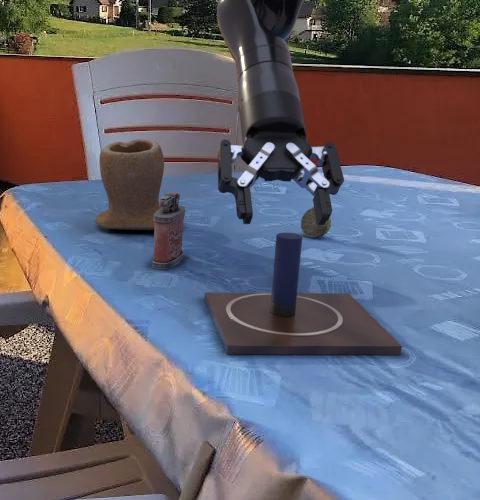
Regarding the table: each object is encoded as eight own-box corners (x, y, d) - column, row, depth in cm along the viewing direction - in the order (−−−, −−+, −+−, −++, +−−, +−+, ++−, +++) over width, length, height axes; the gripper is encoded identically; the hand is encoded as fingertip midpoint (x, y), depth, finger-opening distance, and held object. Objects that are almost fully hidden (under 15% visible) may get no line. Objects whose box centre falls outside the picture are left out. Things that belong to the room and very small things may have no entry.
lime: (330, 240, 115) (333, 211, 114) (300, 238, 116) (302, 208, 115) (328, 234, 120) (331, 205, 118) (299, 232, 120) (302, 203, 119)
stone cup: (91, 237, 114) (91, 143, 110) (99, 219, 125) (100, 134, 121) (185, 240, 113) (189, 147, 109) (184, 223, 125) (188, 137, 120)
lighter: (165, 252, 106) (168, 187, 104) (187, 255, 105) (190, 189, 102) (147, 267, 99) (149, 197, 96) (169, 270, 98) (172, 199, 95)
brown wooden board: (348, 300, 88) (349, 292, 88) (400, 355, 73) (402, 344, 72) (204, 299, 87) (204, 291, 87) (226, 354, 72) (227, 344, 71)
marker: (291, 307, 82) (298, 232, 79) (298, 316, 79) (305, 239, 77) (267, 307, 82) (273, 232, 79) (273, 316, 79) (279, 238, 76)
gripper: (217, 86, 84) (228, 202, 76) (335, 89, 85) (359, 204, 77) (208, 127, 90) (217, 237, 82) (318, 129, 91) (337, 238, 83)
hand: (285, 221), depth 80 cm, fingers open, 8 cm apart
